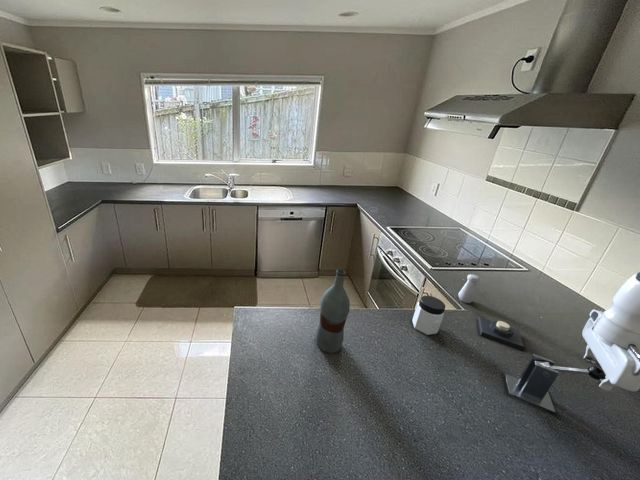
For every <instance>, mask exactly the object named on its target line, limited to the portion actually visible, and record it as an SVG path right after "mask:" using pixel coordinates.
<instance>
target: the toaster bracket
mask: <svg viewBox="0 0 640 480" xmlns="http://www.w3.org/2000/svg"><path fill="white" fill-rule="evenodd" d="M535 361H541V362H548V363H549V366H555V363H556V362H555V360H553V359H550V358H547V357H544V356H541V355H538V354H535V353H533V354H532V355H531V357H530V359H529V361H528V362H527V364H526V365H525V368H524V370H523V371H522V373H521V374H520V377H519V378H517V377H515V376H512V375H509V374H507V373H504V377H505V381H506V387H507V390H508V394H509V395H511V396H514V397H516V398H519V399H521V400H523V401H526V402H528V403H530V404H533V405H535V406H537V407H540V408H543V409H545V410H547V411H550V412H552V413H554V414H556V410H555V407H554V404H553V401H552V398H551V396H550V393H549V390H550V388H551V387H552V386H553V384H554V383H555V381H556V379H557V378H558V376H559V375H560V372H558V371H557V370H554V369H551V368H549V367H546V366H543V365H540V364H538V363H536V365H535Z"/></svg>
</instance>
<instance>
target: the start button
mask: <svg viewBox="0 0 640 480" xmlns="http://www.w3.org/2000/svg"><path fill="white" fill-rule="evenodd" d="M497 321H498V322H497V324H496V327H497V328H499V329H501V330H503V331H508V330H509V328H510V327H511V326H510V325H509V323H507V322H505V321H502V320H497Z"/></svg>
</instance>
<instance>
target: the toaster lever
mask: <svg viewBox="0 0 640 480" xmlns="http://www.w3.org/2000/svg"><path fill="white" fill-rule="evenodd" d="M536 363H538V364H540V365H543V366H546V367H549V368H551V369H554V370H557V371H558V372H559V373H563V374H564V373H565V374H572V375H573V374H574V375H583V376H589V377H590V378H592V379H594V380H597V381H599V380H600V379H603V380H604V379H606V377H605V376H606V374H605V372H604V371H603V369H602V367H599V366H596V365H592V366H589V367H587V368H578V367H569V366H568V367H567V366H556V365H553V366H549V363H548V362H541V361H535V365H536Z"/></svg>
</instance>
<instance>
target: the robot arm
mask: <svg viewBox="0 0 640 480" xmlns="http://www.w3.org/2000/svg"><path fill="white" fill-rule="evenodd" d="M581 334H582V338H583V340H584V341H585V343H586V344H587V345H586V348H585V354H584V355H583V359H584V361H585V362H586V363H587V364H590V365H595V364H596V363H597V362H598V364H599V365H600V368H601V369H602V370H603V371H604V372H605V374H606V376H605V377H606V378H605V379H604V380H603V379H600V380H598V381H597V385H598V387H599V388H600V390H604V391H607V392H610V391H611V390H612V389H613V388H616V387H617V388H619V389H622V390H624V391H627V392H637V391H639V390H640V271H638V272H636V273H635V274H633V275H631V276H630V277H629V278H628V279H627V280H626V281H625V282H624V283H623V284H622V285H621V286H620V288H619V289H618V290H617V292H615V294H614V295H613V297H612V300H611V305H610V307H609V308H607V309H605V310H604V311H602V310H598V309H592V310H591V311H590V312H589V318H588V319H587V321H586V323H585V325H584V327H583V328H582V333H581Z"/></svg>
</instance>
